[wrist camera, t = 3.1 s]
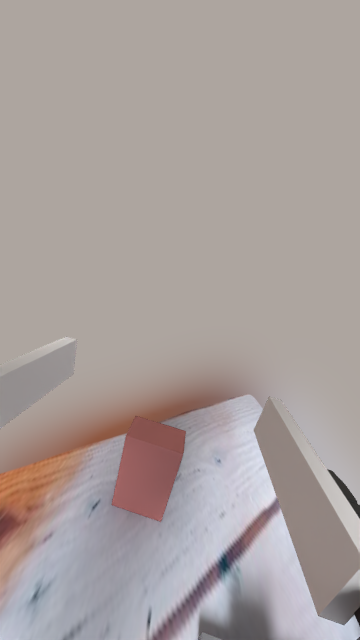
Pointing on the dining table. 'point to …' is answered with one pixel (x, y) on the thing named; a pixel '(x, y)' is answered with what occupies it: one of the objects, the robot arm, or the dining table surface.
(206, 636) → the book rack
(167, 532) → the dining table surface
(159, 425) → the red rectangular block
